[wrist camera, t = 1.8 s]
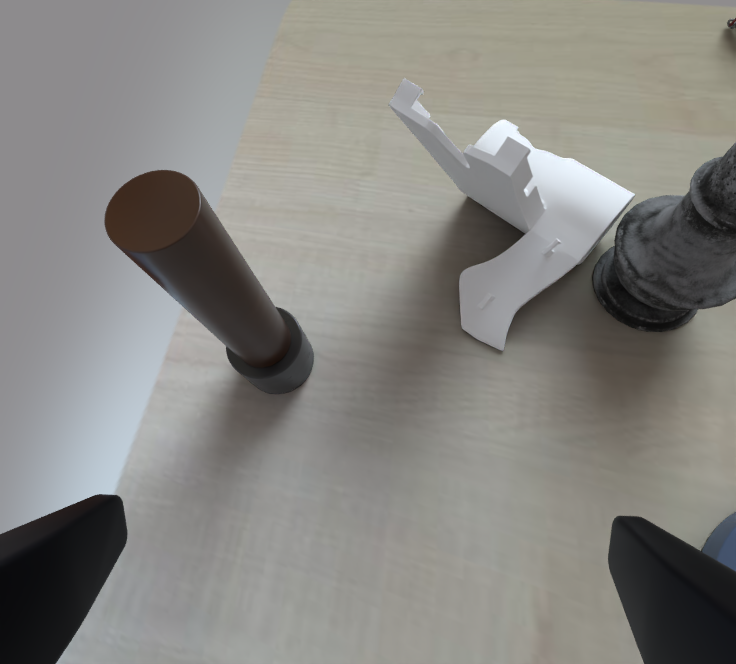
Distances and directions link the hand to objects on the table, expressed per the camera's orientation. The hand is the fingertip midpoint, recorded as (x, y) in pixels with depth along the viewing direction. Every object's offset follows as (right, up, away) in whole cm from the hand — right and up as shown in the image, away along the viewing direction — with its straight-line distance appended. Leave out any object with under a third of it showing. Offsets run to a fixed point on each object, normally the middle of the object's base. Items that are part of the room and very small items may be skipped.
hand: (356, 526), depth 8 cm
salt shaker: (+15, +6, +16) cm, 22 cm away
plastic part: (+8, +8, +17) cm, 20 cm away
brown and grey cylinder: (-4, +2, +16) cm, 16 cm away
